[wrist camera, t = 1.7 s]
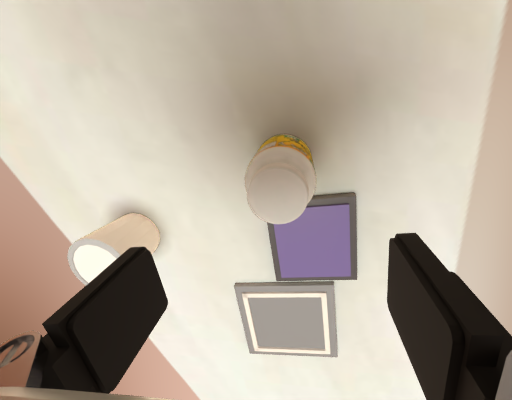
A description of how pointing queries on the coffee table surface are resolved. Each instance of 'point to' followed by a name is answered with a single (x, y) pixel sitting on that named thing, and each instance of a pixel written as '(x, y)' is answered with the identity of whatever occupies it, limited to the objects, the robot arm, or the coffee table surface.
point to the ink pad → (317, 241)
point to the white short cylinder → (111, 245)
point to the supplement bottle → (280, 179)
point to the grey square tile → (289, 318)
